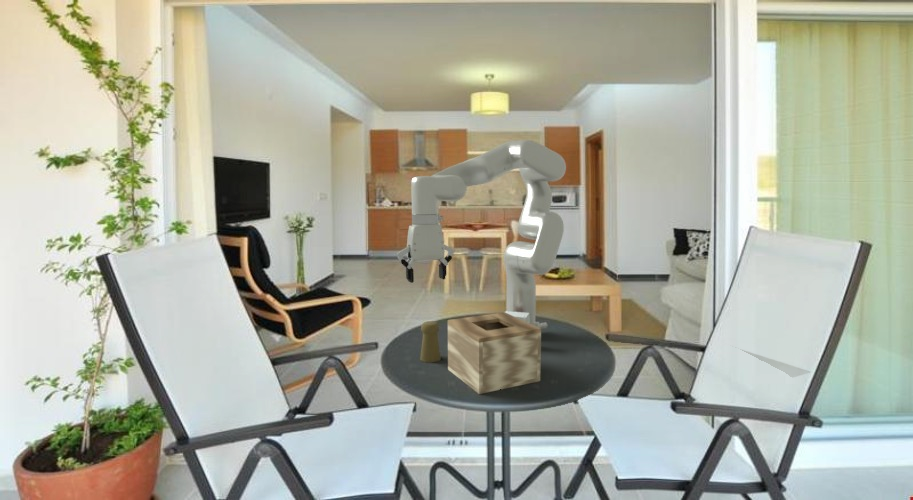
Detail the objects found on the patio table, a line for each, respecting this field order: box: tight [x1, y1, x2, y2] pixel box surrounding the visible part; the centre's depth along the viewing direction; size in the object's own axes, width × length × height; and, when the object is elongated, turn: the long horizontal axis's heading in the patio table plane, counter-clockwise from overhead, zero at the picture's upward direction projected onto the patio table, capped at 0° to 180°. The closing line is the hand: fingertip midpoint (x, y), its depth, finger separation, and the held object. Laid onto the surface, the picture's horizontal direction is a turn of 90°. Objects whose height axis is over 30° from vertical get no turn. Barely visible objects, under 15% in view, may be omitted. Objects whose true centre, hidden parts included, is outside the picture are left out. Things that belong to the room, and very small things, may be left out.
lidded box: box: [447, 311, 542, 395], centre depth 134 cm, size 18×18×14 cm
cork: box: [419, 320, 442, 363], centre depth 147 cm, size 6×6×11 cm
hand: (426, 280), depth 145 cm, fingers open, 9 cm apart
